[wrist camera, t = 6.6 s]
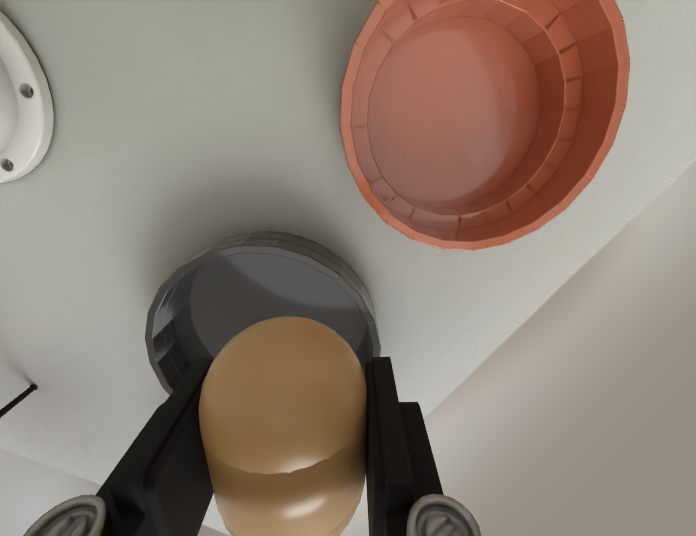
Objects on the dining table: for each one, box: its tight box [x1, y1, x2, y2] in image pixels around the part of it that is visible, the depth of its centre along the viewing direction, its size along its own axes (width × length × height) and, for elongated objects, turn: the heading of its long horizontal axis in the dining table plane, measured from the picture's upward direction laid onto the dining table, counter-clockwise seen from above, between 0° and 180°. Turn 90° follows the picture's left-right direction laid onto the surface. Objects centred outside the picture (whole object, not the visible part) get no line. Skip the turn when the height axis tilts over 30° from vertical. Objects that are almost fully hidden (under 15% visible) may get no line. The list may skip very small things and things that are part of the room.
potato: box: [198, 316, 368, 536], centre depth 9 cm, size 7×4×4 cm, turn 0°
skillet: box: [145, 232, 381, 395], centre depth 28 cm, size 18×18×4 cm
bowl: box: [340, 0, 630, 250], centre depth 20 cm, size 15×15×6 cm
